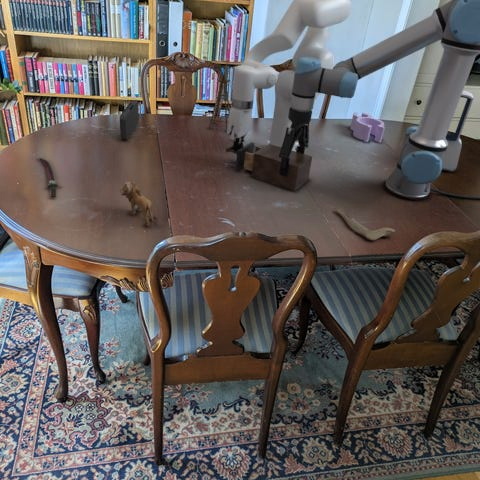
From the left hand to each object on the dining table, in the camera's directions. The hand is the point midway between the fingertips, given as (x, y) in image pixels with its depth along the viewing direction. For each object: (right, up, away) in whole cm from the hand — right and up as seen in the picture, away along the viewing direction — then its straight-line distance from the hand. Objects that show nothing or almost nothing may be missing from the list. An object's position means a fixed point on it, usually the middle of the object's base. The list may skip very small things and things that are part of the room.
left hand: (237, 153), depth 172 cm
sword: (-62, -12, -20) cm, 66 cm away
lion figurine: (-28, -25, -36) cm, 52 cm away
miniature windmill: (-8, +18, +35) cm, 40 cm away
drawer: (+6, -5, -1) cm, 8 cm away
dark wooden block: (+15, -10, -5) cm, 19 cm away
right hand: (+19, -7, -8) cm, 22 cm away
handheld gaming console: (-44, +13, +20) cm, 51 cm away
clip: (+58, +17, +44) cm, 75 cm away
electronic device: (+82, -2, +18) cm, 84 cm away
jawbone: (+39, -27, -27) cm, 55 cm away
